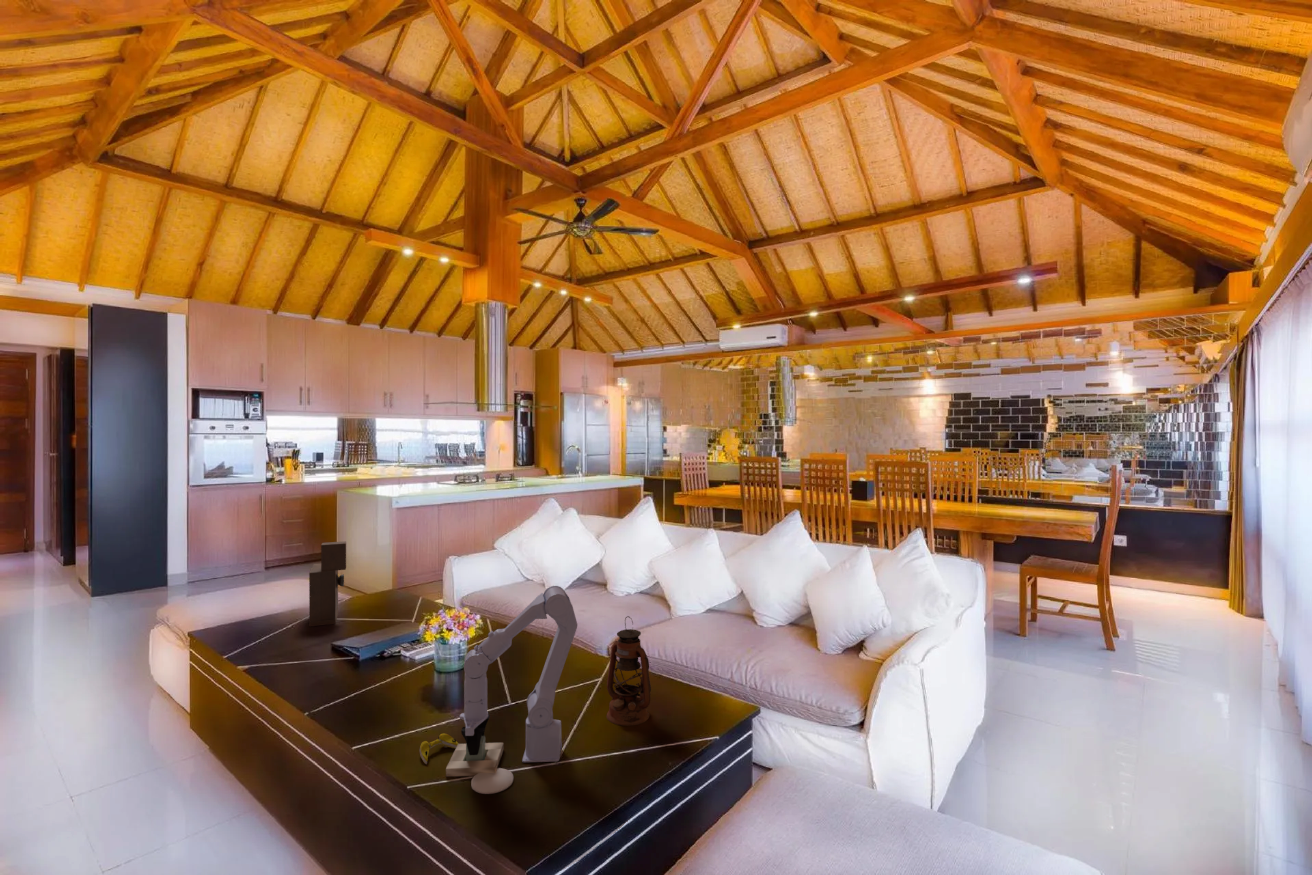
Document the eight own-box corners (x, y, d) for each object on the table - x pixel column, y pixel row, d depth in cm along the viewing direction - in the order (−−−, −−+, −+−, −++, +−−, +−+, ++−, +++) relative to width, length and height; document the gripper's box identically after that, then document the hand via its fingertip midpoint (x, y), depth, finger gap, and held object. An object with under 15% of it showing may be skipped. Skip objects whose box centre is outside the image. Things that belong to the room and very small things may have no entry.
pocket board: (503, 749, 166) (503, 742, 166) (494, 774, 154) (494, 766, 154) (458, 751, 165) (458, 743, 165) (445, 776, 153) (445, 768, 153)
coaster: (516, 769, 157) (516, 767, 157) (509, 793, 147) (509, 790, 147) (476, 771, 156) (476, 768, 156) (466, 794, 146) (466, 792, 146)
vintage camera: (345, 622, 274) (345, 543, 273) (309, 626, 268) (308, 546, 267) (347, 610, 291) (347, 536, 290) (313, 613, 285) (313, 538, 285)
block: (485, 758, 162) (485, 735, 162) (482, 766, 158) (481, 743, 158) (469, 758, 162) (469, 736, 162) (466, 767, 158) (466, 743, 158)
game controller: (445, 738, 171) (448, 728, 170) (458, 753, 167) (461, 743, 166) (412, 752, 163) (415, 742, 162) (424, 769, 159) (427, 758, 159)
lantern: (592, 715, 186) (593, 616, 186) (620, 700, 197) (620, 607, 196) (636, 732, 176) (637, 628, 176) (663, 715, 187) (663, 616, 186)
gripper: (466, 686, 167) (466, 735, 167) (452, 710, 152) (452, 765, 152) (493, 685, 167) (493, 735, 167) (481, 710, 153) (481, 764, 153)
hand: (475, 749), depth 160 cm, fingers closed on block, 4 cm apart
